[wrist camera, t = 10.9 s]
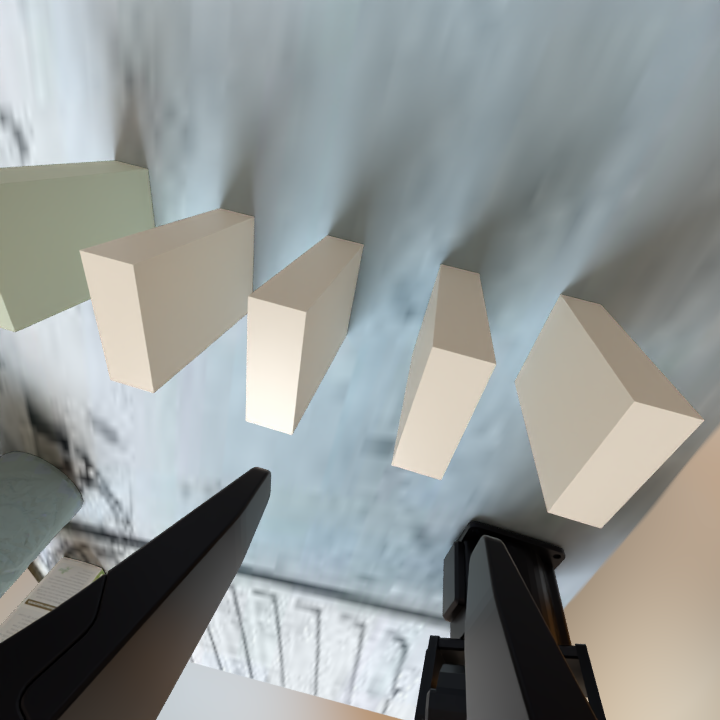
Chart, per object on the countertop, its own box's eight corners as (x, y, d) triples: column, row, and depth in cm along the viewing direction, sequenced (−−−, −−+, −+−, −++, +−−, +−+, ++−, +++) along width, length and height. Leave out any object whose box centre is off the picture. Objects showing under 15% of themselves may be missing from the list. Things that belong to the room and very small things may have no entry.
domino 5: (600, 304, 16) (704, 420, 10) (549, 391, 19) (601, 528, 12) (560, 294, 16) (634, 401, 10) (514, 381, 19) (547, 512, 12)
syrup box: (62, 554, 44) (-87, 712, 32) (105, 567, 43) (-31, 734, 31) (77, 579, 47) (-53, 732, 35) (118, 591, 46) (-1, 752, 34)
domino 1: (148, 169, 18) (-41, 188, 11) (159, 268, 20) (15, 332, 14) (114, 160, 18) (-92, 174, 11) (130, 260, 20) (-27, 319, 14)
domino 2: (254, 216, 18) (133, 264, 11) (252, 309, 20) (154, 393, 14) (219, 208, 18) (79, 250, 11) (222, 301, 20) (110, 379, 14)
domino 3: (363, 244, 17) (306, 312, 10) (346, 335, 20) (292, 434, 13) (327, 235, 17) (247, 296, 11) (315, 326, 20) (245, 421, 13)
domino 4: (479, 273, 17) (496, 364, 10) (445, 362, 19) (441, 480, 13) (440, 263, 17) (432, 346, 10) (412, 353, 20) (391, 465, 13)
